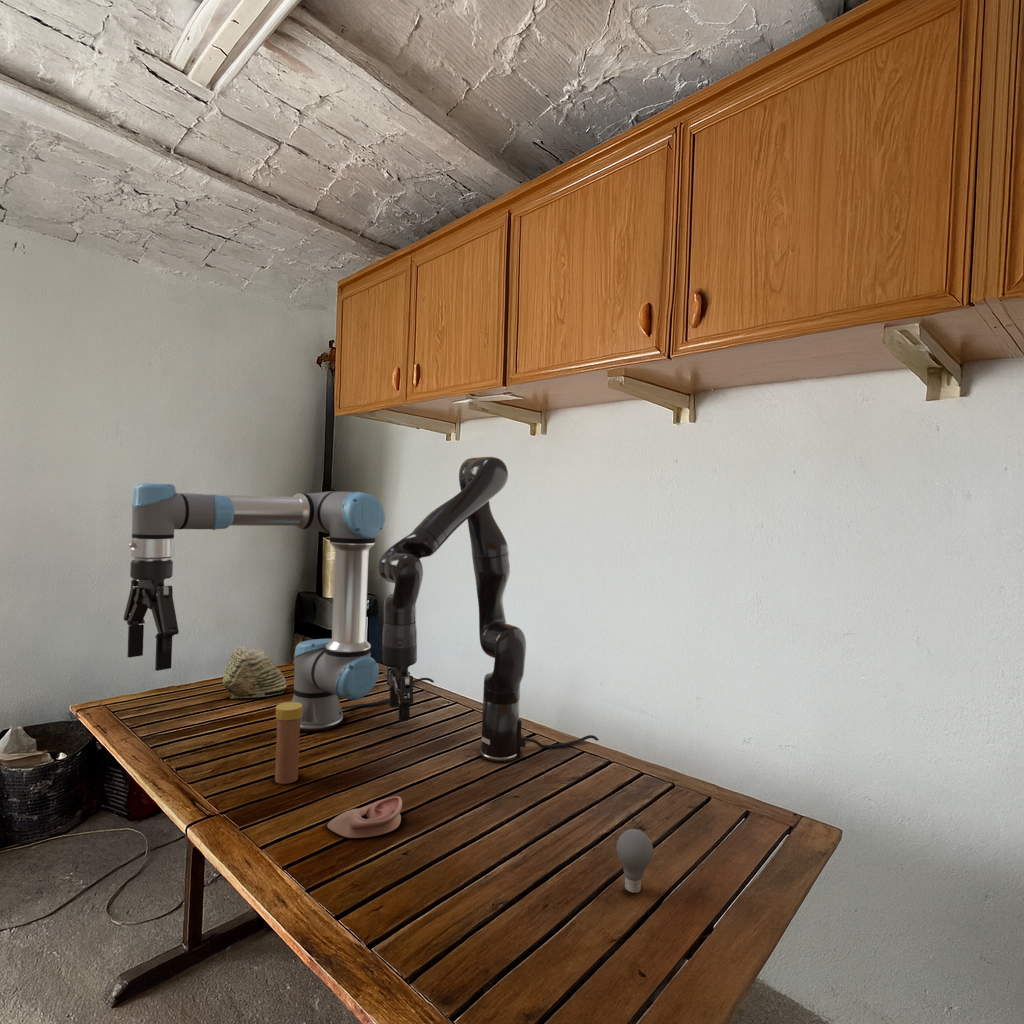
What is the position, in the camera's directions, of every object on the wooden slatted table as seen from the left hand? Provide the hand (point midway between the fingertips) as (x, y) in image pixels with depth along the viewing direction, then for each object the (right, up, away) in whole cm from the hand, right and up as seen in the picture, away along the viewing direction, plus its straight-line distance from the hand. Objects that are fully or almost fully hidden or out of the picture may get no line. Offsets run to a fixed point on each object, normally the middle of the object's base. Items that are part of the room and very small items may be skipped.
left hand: (148, 662), depth 129 cm
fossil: (-6, -27, +69) cm, 74 cm away
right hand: (+49, -14, +11) cm, 52 cm away
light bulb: (+94, -33, -24) cm, 103 cm away
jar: (+24, -29, +12) cm, 39 cm away
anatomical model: (+46, -30, -6) cm, 55 cm away
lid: (+25, -13, +12) cm, 30 cm away
